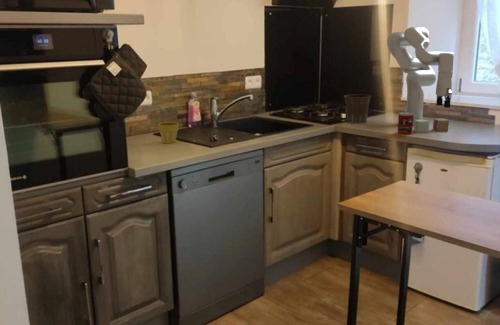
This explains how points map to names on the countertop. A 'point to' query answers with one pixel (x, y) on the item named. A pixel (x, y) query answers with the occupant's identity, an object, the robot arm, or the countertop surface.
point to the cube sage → (421, 125)
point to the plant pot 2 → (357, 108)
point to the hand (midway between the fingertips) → (443, 106)
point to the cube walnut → (440, 124)
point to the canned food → (405, 123)
